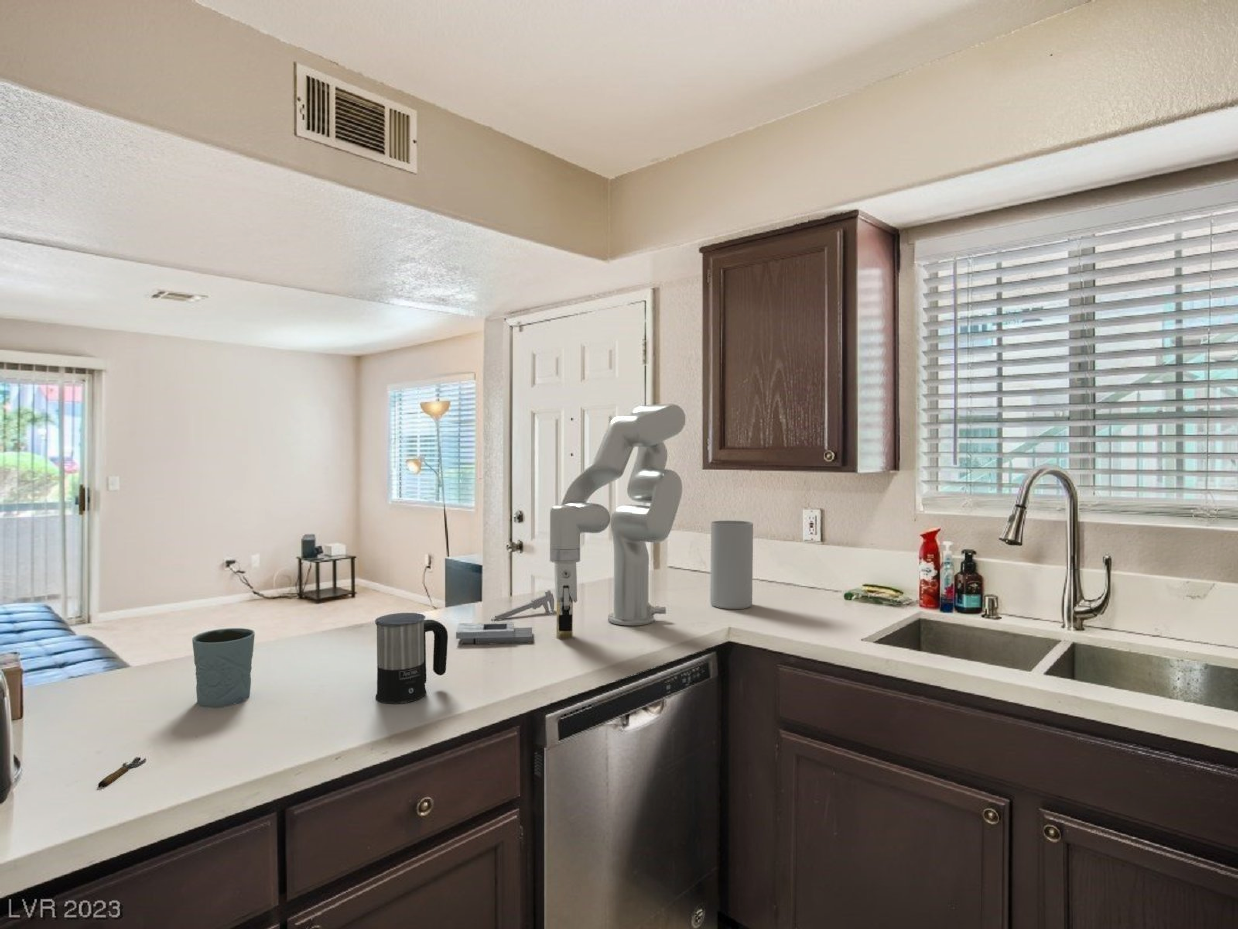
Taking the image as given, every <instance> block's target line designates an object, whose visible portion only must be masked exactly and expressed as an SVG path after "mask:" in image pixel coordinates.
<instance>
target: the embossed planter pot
mask: <svg viewBox="0 0 1238 929" xmlns="http://www.w3.org/2000/svg"><path fill="white" fill-rule="evenodd" d="M255 635H256V633H255V630H253V629H251V628H244V627H229V628H219V629H218V628H217V629H213V630H208V631H203V632H200V633H198V634H197V635H195V636H193V637H192V643H191V644H192V650H193V657H194V658H193V660H194V665H195V680H196V687H195V689H196V690H195V692H196V701H197V704H198V705H199V706H201V705H202V706H201V707H204V706H205V707H206V706H207V707H206V708H218V707H219V706H221V707H227V706H226V705H228V706H232V705H235V703H236V704H239V703H242V702H244V701H246V700H247V699H249V698H250V695H251V689H252V688H251V687H252V686H251V685H252V678H251V673H252V663H253V662H252V661H253V660H252V659H253V657H254V656H253V655H254V648H255V647H254V644H255ZM248 697H249V698H248ZM245 699H246V700H245ZM238 702H239V703H238ZM219 708H220V707H219Z"/></svg>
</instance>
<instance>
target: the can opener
mask: <svg viewBox="0 0 1238 929" xmlns="http://www.w3.org/2000/svg"><path fill="white" fill-rule="evenodd" d="M137 762H138V763H137ZM146 762H147V758H146V757H145V758H144V759H141V757H140V756H136V757H134V759H133V760H132V761H131V762H130V763H129V762H127V761H126V762H123V763H122V766H121V767H120V768H118V769H116V771H114V772H112V773H110V774H108V775H107V776H105V777H104V778H103V779H102V780H100V782H98V784H97V787H98V788H106V787H107V786H109V785H110V784H112V783H113V782H115V781H116V780H117V779H118V778H119V777H121V776H122V775H124V774H125V773H127V772H128V771H129V770H130V768H138V767H141V766H142V765H144V764H145V763H146ZM128 763H129V764H128Z"/></svg>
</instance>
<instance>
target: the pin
mask: <svg viewBox="0 0 1238 929" xmlns="http://www.w3.org/2000/svg"><path fill="white" fill-rule="evenodd" d="M561 598H562V597H561ZM562 602H564V600H562ZM562 606H564V605H562ZM571 614H572V631H559V615H560V603H559V602H557V601H556V638H557V639H558V638H560V639H559V640H569V638H570V639H573V638H574V637H573V635H574V634H573V633H574V632H573V631H574V630H573V629H574V623H573V622H574V620H573V619H574V615H573V614H574V601H572V599H571Z"/></svg>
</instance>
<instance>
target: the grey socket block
mask: <svg viewBox="0 0 1238 929" xmlns="http://www.w3.org/2000/svg"><path fill="white" fill-rule="evenodd" d="M455 639H456V640H457V639H458V640H459V639H460V644H461V643H472V644H476V645H491V644H490V643H509V644H529V643H528V642H531V643H530V644H532V643H533V627H515V622H514V621H504V622H502V621H501V622H495V621H492V622H465V623H464V622H461V623H458V626H457V629H456V632H455Z"/></svg>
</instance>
